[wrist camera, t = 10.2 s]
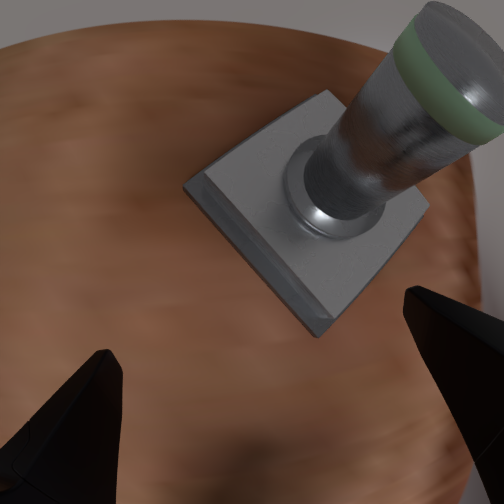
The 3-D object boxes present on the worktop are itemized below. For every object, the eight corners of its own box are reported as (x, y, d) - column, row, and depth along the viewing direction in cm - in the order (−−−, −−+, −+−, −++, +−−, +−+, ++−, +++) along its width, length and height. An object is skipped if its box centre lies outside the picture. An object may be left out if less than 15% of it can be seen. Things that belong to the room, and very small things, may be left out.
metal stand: (417, 218, 25) (442, 207, 22) (313, 337, 22) (333, 341, 18) (311, 100, 25) (325, 76, 22) (183, 190, 22) (181, 169, 19)
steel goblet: (390, 231, 20) (562, 153, 7) (296, 247, 19) (471, 136, 5) (363, 140, 21) (485, 15, 8) (273, 144, 20) (362, -37, 6)
